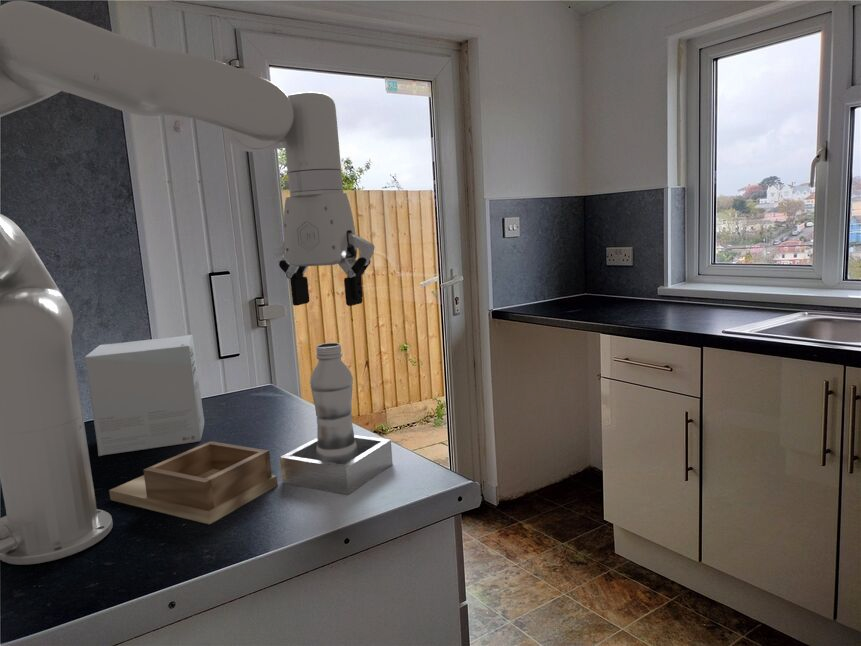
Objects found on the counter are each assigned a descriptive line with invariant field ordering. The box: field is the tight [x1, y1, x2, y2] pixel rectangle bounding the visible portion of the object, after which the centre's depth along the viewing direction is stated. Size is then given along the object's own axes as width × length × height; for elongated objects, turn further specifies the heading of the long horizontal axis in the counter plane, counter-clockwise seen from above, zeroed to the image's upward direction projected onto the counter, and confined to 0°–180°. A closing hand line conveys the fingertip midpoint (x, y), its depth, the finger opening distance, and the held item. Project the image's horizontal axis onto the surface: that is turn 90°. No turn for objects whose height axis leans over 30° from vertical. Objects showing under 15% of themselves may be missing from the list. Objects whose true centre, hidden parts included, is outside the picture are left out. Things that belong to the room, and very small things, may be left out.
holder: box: [279, 434, 394, 496], centre depth 95 cm, size 12×12×4 cm
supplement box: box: [84, 334, 205, 457], centre depth 116 cm, size 17×13×18 cm
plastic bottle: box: [309, 342, 359, 464], centre depth 94 cm, size 6×7×20 cm
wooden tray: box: [108, 440, 278, 525], centre depth 91 cm, size 13×20×6 cm, turn 62°
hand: (327, 304), depth 92 cm, fingers open, 9 cm apart
